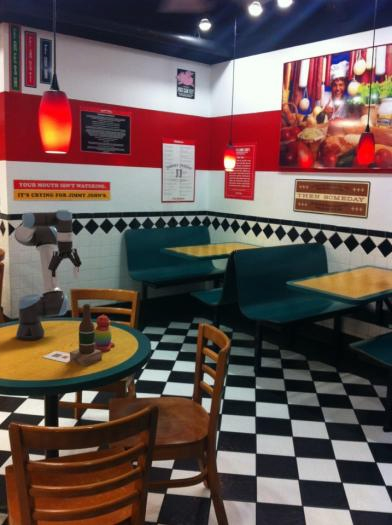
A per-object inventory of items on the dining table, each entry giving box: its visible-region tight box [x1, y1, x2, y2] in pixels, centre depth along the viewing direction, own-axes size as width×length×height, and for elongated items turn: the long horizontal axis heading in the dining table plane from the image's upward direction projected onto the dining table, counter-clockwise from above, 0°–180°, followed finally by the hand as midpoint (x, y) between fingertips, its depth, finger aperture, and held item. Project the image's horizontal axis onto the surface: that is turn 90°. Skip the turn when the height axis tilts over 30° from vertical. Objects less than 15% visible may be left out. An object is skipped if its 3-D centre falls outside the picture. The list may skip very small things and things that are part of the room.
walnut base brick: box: [69, 348, 103, 367], centre depth 253 cm, size 11×11×5 cm
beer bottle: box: [78, 303, 96, 354], centre depth 251 cm, size 8×8×24 cm
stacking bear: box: [95, 314, 116, 352], centre depth 271 cm, size 11×10×18 cm
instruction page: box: [42, 350, 70, 364], centre depth 258 cm, size 15×10×1 cm, turn 66°
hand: (65, 281), depth 263 cm, fingers open, 13 cm apart
